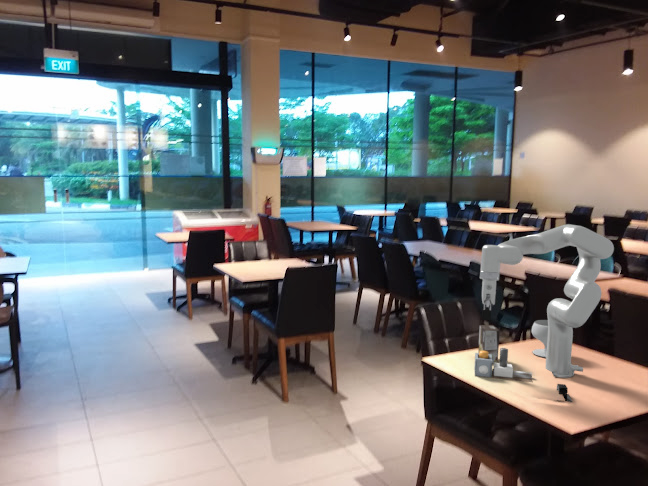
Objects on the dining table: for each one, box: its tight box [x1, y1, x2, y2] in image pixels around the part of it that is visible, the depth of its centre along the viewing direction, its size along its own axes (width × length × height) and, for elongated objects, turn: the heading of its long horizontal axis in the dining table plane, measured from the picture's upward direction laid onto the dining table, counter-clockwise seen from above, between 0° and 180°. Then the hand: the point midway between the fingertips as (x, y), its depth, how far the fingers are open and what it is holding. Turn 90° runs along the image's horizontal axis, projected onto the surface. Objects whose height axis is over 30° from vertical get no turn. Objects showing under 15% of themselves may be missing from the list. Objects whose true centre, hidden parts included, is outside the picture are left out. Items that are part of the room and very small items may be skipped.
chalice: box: [531, 319, 548, 359], centre depth 241 cm, size 14×14×15 cm
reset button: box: [478, 350, 489, 359], centre depth 212 cm, size 4×4×3 cm
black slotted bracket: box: [556, 383, 573, 403], centre depth 194 cm, size 12×7×5 cm, turn 167°
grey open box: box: [474, 352, 493, 378], centre depth 212 cm, size 6×8×7 cm
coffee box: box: [478, 324, 500, 364], centre depth 229 cm, size 9×6×16 cm
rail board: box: [476, 368, 534, 383], centre depth 211 cm, size 22×9×4 cm, turn 75°
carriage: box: [493, 347, 514, 378], centre depth 210 cm, size 7×6×11 cm
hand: (486, 316), depth 212 cm, fingers open, 9 cm apart
